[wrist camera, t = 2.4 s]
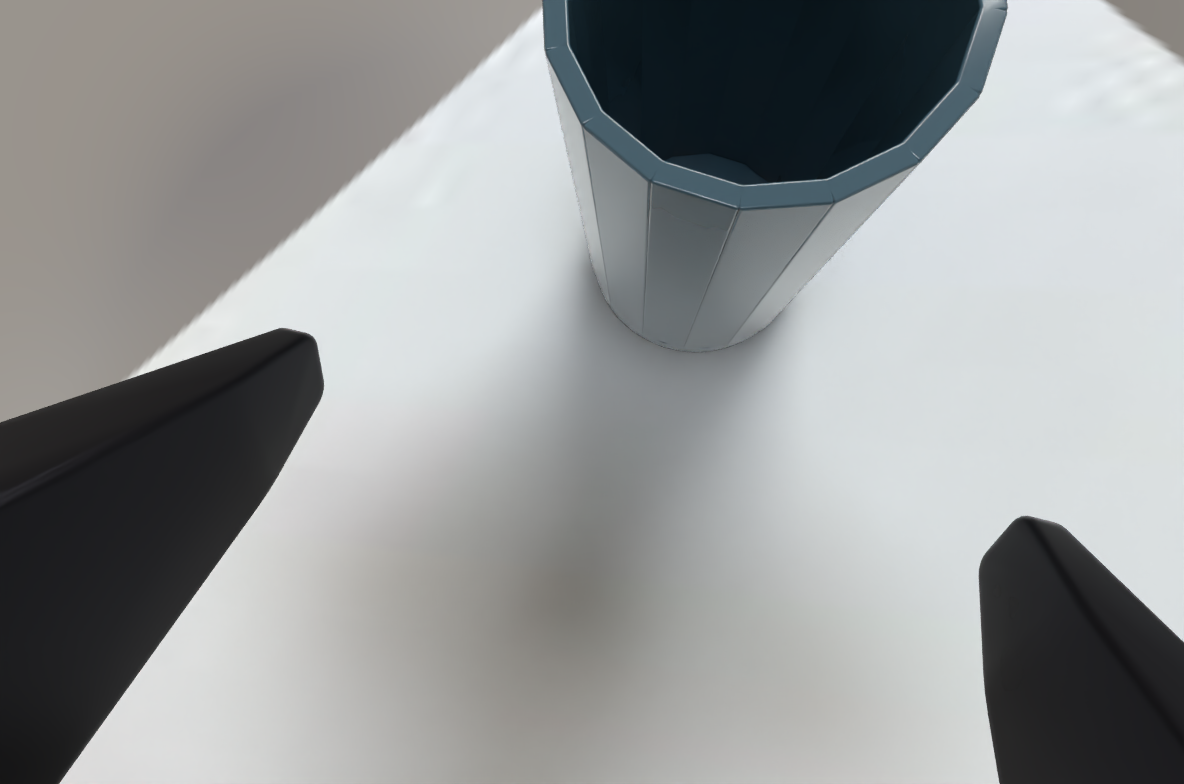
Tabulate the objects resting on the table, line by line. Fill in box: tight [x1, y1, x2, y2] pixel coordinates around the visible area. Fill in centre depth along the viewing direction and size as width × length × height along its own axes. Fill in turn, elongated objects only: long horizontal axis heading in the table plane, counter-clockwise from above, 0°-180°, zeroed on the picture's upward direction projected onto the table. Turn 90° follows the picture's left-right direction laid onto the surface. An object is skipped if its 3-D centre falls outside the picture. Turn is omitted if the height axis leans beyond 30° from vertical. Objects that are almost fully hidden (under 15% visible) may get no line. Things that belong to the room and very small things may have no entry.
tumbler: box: [542, 0, 1008, 352], centre depth 16 cm, size 7×7×12 cm
